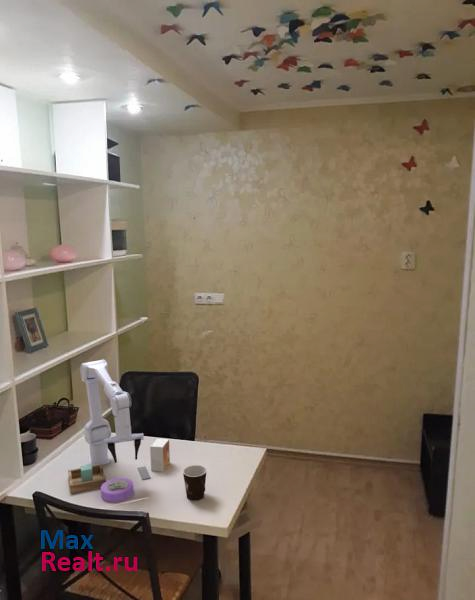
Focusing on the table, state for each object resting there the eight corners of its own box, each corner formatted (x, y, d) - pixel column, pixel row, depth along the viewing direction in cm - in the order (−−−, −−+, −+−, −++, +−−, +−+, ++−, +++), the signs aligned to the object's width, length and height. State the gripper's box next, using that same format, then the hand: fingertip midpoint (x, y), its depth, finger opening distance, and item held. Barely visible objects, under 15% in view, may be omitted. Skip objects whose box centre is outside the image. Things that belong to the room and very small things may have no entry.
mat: (120, 472, 195) (120, 471, 195) (145, 467, 199) (145, 466, 199) (125, 483, 186) (124, 482, 186) (150, 478, 190) (150, 477, 190)
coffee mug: (184, 490, 180) (183, 465, 179) (206, 489, 181) (206, 464, 180) (183, 508, 169) (182, 481, 167) (207, 506, 170) (206, 480, 168)
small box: (163, 471, 195) (162, 447, 193) (150, 470, 196) (149, 446, 194) (170, 462, 203) (169, 439, 201) (157, 461, 204) (156, 438, 202)
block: (81, 480, 188) (80, 466, 187) (91, 478, 189) (91, 464, 188) (82, 485, 184) (81, 470, 183) (93, 483, 186) (92, 468, 185)
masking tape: (112, 484, 186) (112, 475, 185) (139, 489, 182) (138, 479, 182) (94, 500, 175) (94, 490, 174) (122, 506, 171) (122, 495, 171)
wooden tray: (68, 478, 190) (68, 470, 190) (102, 472, 195) (101, 464, 195) (70, 495, 178) (70, 486, 178) (106, 487, 183) (106, 479, 183)
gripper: (102, 431, 176) (105, 467, 177) (142, 425, 179) (145, 461, 180) (103, 425, 183) (106, 460, 184) (142, 420, 186) (145, 454, 187)
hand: (126, 460), depth 183 cm, fingers open, 7 cm apart
